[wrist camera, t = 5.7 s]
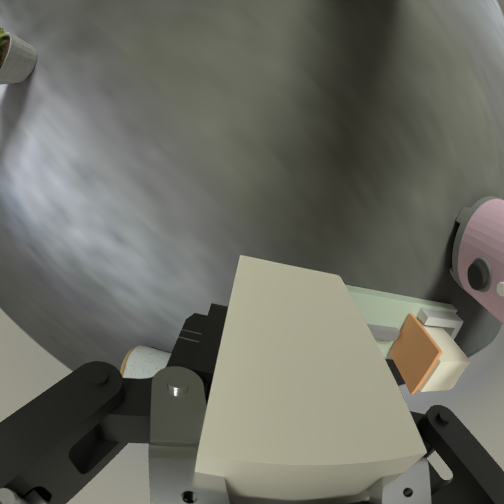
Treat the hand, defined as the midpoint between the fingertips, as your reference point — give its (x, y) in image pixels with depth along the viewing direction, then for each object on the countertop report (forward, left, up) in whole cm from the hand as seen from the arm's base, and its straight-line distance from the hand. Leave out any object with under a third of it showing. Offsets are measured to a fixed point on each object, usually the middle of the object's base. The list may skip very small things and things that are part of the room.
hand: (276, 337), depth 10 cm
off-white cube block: (0, 0, -1) cm, 1 cm away
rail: (+8, +14, -17) cm, 23 cm away
